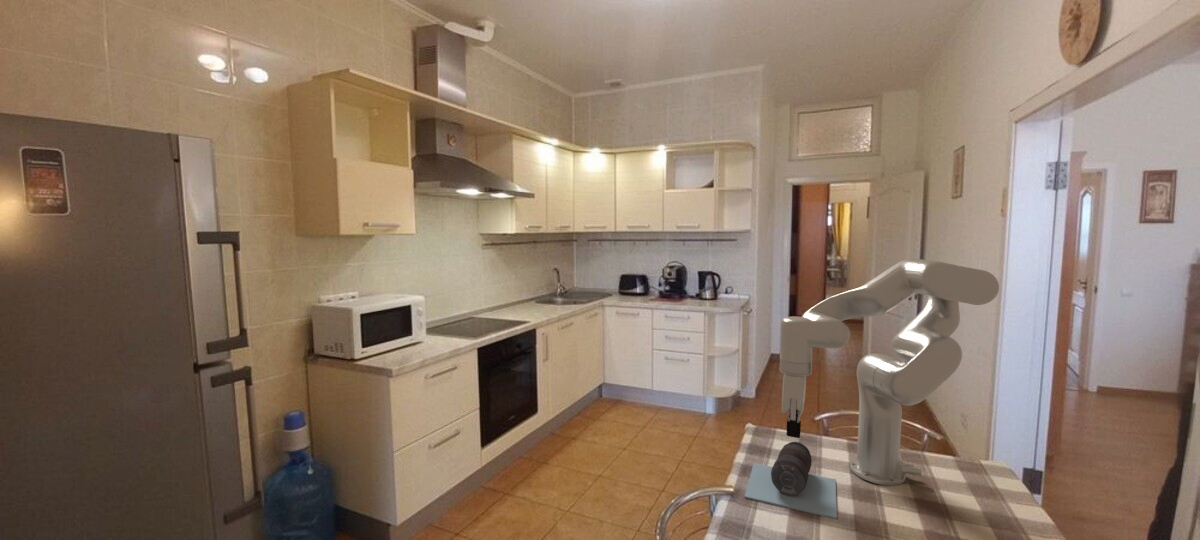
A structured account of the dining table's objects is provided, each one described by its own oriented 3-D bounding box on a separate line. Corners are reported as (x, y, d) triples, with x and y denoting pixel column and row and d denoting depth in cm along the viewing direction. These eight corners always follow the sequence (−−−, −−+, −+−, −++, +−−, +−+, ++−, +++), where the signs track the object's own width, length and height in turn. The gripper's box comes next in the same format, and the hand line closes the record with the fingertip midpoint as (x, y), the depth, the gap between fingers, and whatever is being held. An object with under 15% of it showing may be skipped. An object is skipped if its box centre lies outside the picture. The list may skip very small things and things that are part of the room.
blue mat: (835, 480, 120) (835, 479, 120) (836, 519, 105) (837, 517, 105) (753, 464, 129) (753, 463, 129) (744, 497, 113) (744, 496, 113)
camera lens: (816, 470, 123) (807, 499, 111) (783, 467, 128) (772, 494, 115) (811, 440, 123) (803, 465, 110) (779, 437, 128) (767, 461, 115)
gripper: (782, 356, 127) (780, 421, 128) (776, 373, 113) (775, 445, 115) (812, 359, 123) (810, 426, 125) (811, 377, 110) (808, 451, 112)
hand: (793, 435), depth 120 cm, fingers closed
